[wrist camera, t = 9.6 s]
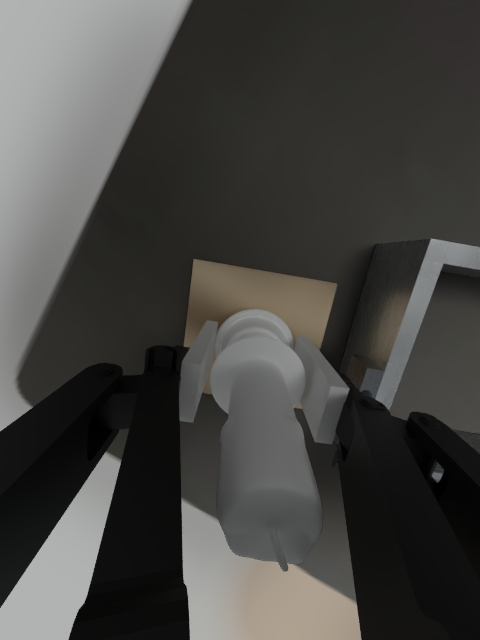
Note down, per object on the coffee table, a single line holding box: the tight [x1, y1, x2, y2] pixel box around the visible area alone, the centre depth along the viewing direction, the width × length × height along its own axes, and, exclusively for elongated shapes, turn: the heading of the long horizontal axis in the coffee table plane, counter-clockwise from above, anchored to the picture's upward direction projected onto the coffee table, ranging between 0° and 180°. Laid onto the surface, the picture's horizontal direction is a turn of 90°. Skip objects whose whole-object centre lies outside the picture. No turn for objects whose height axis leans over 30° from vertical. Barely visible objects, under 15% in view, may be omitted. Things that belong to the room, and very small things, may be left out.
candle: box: [210, 309, 323, 571], centre depth 11 cm, size 5×5×12 cm
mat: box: [184, 259, 337, 409], centre depth 18 cm, size 10×10×1 cm
